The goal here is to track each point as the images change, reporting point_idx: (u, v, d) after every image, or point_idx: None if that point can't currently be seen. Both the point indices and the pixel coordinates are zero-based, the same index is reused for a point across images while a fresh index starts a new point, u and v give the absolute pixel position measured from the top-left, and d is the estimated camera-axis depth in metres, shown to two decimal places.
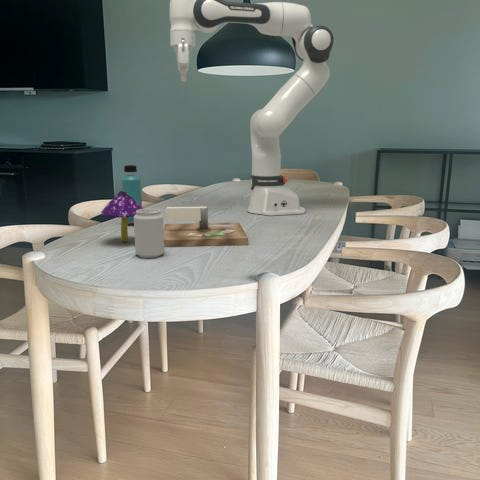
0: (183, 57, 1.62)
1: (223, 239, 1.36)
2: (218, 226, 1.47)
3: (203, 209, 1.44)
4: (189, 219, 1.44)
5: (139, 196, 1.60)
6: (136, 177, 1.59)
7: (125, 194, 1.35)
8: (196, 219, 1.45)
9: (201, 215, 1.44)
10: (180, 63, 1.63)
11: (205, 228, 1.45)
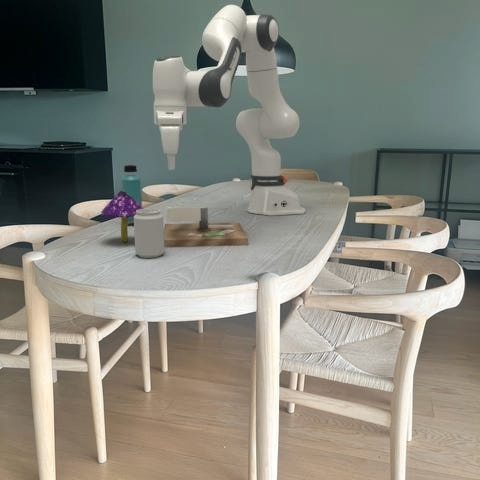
0: None
1: (223, 239, 1.36)
2: (218, 226, 1.47)
3: (203, 209, 1.44)
4: (189, 219, 1.44)
5: (139, 196, 1.60)
6: (136, 177, 1.59)
7: (125, 194, 1.35)
8: (196, 219, 1.45)
9: (201, 215, 1.44)
10: None
11: (205, 228, 1.45)
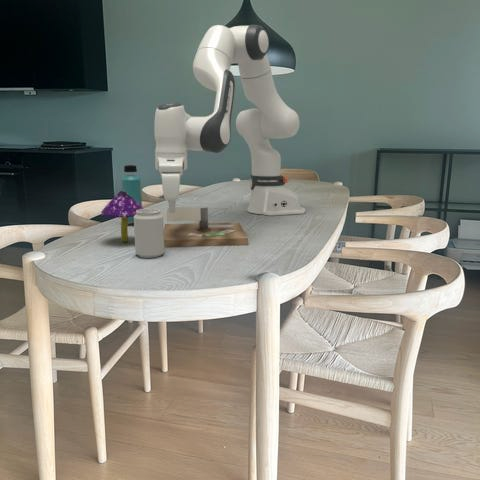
0: None
1: (223, 239, 1.36)
2: (218, 226, 1.47)
3: (203, 209, 1.44)
4: (189, 219, 1.44)
5: (139, 196, 1.60)
6: (136, 177, 1.59)
7: (125, 194, 1.35)
8: (196, 219, 1.45)
9: (201, 215, 1.44)
10: None
11: (205, 228, 1.45)
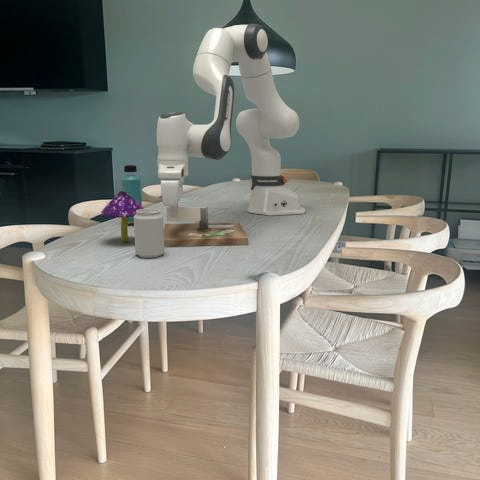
0: None
1: (223, 239, 1.36)
2: (218, 226, 1.46)
3: (203, 209, 1.44)
4: (189, 219, 1.45)
5: (139, 196, 1.60)
6: (136, 177, 1.59)
7: (125, 194, 1.35)
8: (196, 219, 1.45)
9: (201, 215, 1.44)
10: None
11: (205, 228, 1.45)
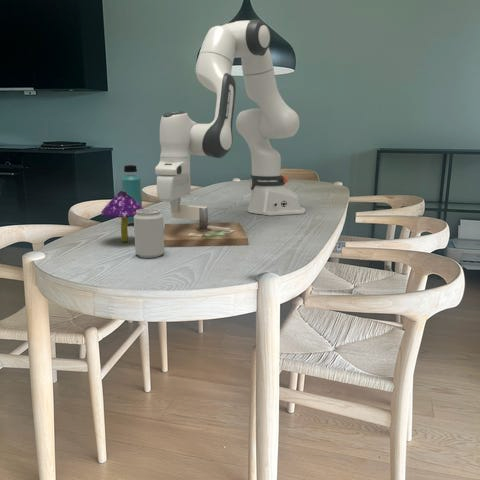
0: None
1: (223, 239, 1.36)
2: (216, 228, 1.44)
3: (201, 209, 1.44)
4: (189, 217, 1.47)
5: (139, 196, 1.60)
6: (136, 177, 1.59)
7: (125, 194, 1.35)
8: (195, 218, 1.46)
9: (199, 214, 1.45)
10: None
11: (203, 228, 1.45)
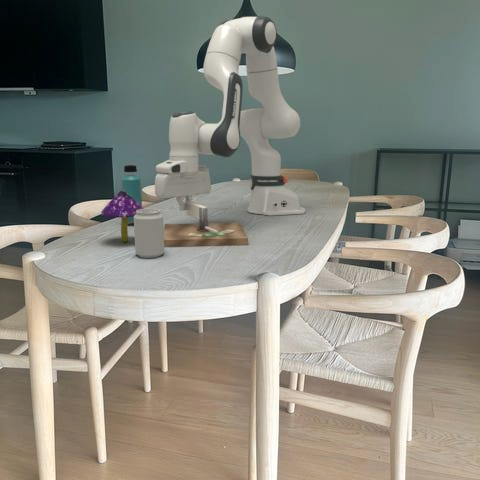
0: None
1: (223, 239, 1.36)
2: (209, 229, 1.42)
3: (199, 209, 1.45)
4: (195, 216, 1.49)
5: (139, 196, 1.60)
6: (136, 177, 1.59)
7: (125, 194, 1.35)
8: (197, 217, 1.47)
9: (199, 214, 1.46)
10: None
11: (200, 228, 1.45)
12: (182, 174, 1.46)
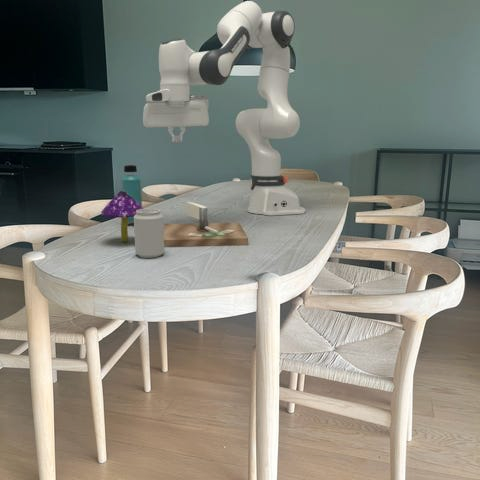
0: None
1: (223, 239, 1.36)
2: (209, 229, 1.42)
3: (199, 209, 1.45)
4: (195, 216, 1.49)
5: (139, 196, 1.60)
6: (136, 177, 1.59)
7: (125, 194, 1.35)
8: (197, 217, 1.47)
9: (199, 214, 1.46)
10: (208, 123, 1.51)
11: (200, 228, 1.45)
12: (168, 103, 1.45)
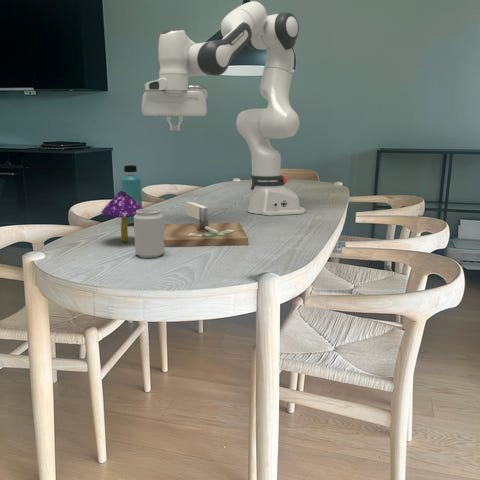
0: None
1: (223, 239, 1.36)
2: (209, 229, 1.42)
3: (199, 209, 1.45)
4: (195, 216, 1.49)
5: (139, 196, 1.60)
6: (136, 177, 1.59)
7: (125, 194, 1.35)
8: (197, 217, 1.47)
9: (199, 214, 1.46)
10: (206, 113, 1.51)
11: (200, 228, 1.45)
12: (166, 92, 1.47)
